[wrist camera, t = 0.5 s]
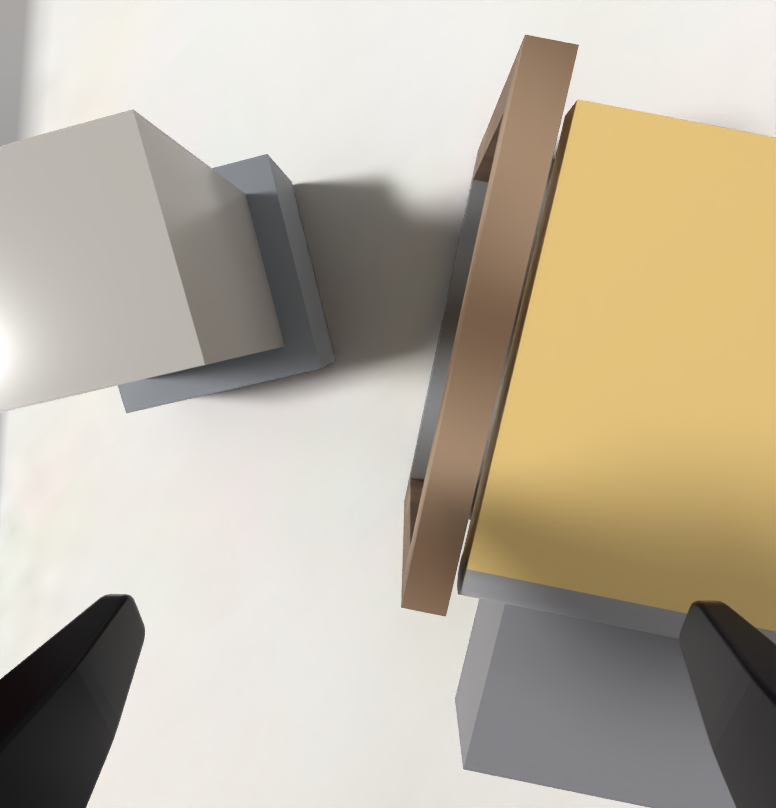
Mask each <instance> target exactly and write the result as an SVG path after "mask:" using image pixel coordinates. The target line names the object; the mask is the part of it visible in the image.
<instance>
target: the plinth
mask: <svg viewBox="0 0 776 808" xmlns="http://www.w3.org/2000/svg"><path fill="white" fill-rule="evenodd" d="M212 169H213V170H214V171H216V172H217V173H218V174H220V175H221V176H222V177H224V178H225V179H226V180H228V181H229V182H230V183H232V184H233V185H234V186H236V187H237V188H238V189H240V190H241V191H242V192H244V193H245V194H246V198H247V201H248V205H249V209H250V213H251V217H252V221H253V225H254V228H255V232H256V236H257V240H258V244H259V248H260V252H261V256H262V259H263V263H264V267H265V271H266V275H267V279H268V283H269V287H270V290H271V294H272V298H273V302H274V306H275V310H276V314H277V318H278V321H279V325H280V329H281V333H282V337H283V341H284V345H285V346H284V347H280V348H276V349H272V350H267V351H263V352H259V353H254V354H250V355H246V356H241V357H237V358H233V359H229V360H224V361H220V362H216V363H211V364H207V365H203V366H198V367H194V368H190V369H186V370H181V371H177V372H173V373H168V374H164V375H160V376H156V377H151V378H147V379H143V380H138V381H134V382H130V383H125V384H121V385H118V388H119V391H120V394H121V398H122V401H123V404H124V407H125V410H126V413H130V412H134V411H138V410H143V409H147V408H151V407H156V406H160V405H165V404H169V403H173V402H178V401H182V400H187V399H191V398H195V397H200V396H204V395H208V394H213V393H217V392H222V391H226V390H230V389H235V388H239V387H243V386H248V385H252V384H257V383H261V382H265V381H270V380H274V379H279V378H283V377H287V376H292V375H296V374H300V373H305V372H309V371H314V370H318V369H322V368H323V367H325V366H327V365H328V364H330V363H332V362H334V361H335V357H334V353H333V349H332V344H331V340H330V336H329V332H328V328H327V324H326V320H325V316H324V312H323V308H322V304H321V300H320V295H319V291H318V287H317V283H316V279H315V275H314V271H313V267H312V263H311V259H310V255H309V251H308V246H307V242H306V238H305V234H304V230H303V226H302V222H301V218H300V214H299V210H298V206H297V202H296V197H295V193H294V189H293V185H292V182H291V181H290V179H289V178H288V177H287V176H286V175H285V174H284V173H283V171H282V170H281V169H280V168H279V167H278V166H277V165H276V163H275V162H274V161H273V160H272V159H271V158H270V157H269V155H268V154H266V155H262V156H258V157H254V158H250V159H246V160H243V161H239V162H235V163H231V164H227V165H224V166H220V167H216V168H212Z"/></svg>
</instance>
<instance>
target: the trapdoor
mask: <svg viewBox="0 0 776 808" xmlns="http://www.w3.org/2000/svg"><path fill="white" fill-rule="evenodd" d="M457 589H458V594H460V595H465V596H470V597H475V598H479V603H478V607H477V611H476V615H475V619H474V623H473V627H472V631H471V636H470V640H469V644H468V648H467V652H466V656H465V660H464V664H463V668H462V673H461V677H460V681H459V685H458V689H457V693H456V697H455V702H456V711H457V719H458V728H459V736H460V745H461V753H462V762H463V769H465V770H470V771H475V772H480V773H485V774H489V775H494V776H499V777H504V778H509V779H514V780H519V781H523V782H528V783H533V784H538V785H543V786H548V787H553V788H558V789H562V790H567V791H572V792H577V793H582V794H587V795H592V796H596V797H601V798H606V799H611V800H616V801H621V802H626V803H630V804H635V805H640V806H645V807H650V808H736V806H735V804H734V802H733V799H732V797H731V795H730V792H729V790H728V787H727V785H726V783H725V780H724V778H723V775H722V773H721V771H720V768H719V766H718V763H717V761H716V758H715V756H714V753H713V750H712V747H711V744H710V742H709V739H708V736H707V733H706V729H705V726H704V723H703V720H702V716H701V713H700V710H699V707H698V703H697V700H696V697H695V694H694V691H693V687H692V684H691V681H690V678H689V674H688V671H687V668H686V665H685V661H684V658H683V655H682V652H681V648H680V643H679V636H680V631H681V629H682V626H683V623H684V621H685V618H686V616H687V613H688V611H689V608H690V606H691V604H692V603H693V602H694V601H698V600H712V601H721V602H723V603H725V604H727V605H728V606H729V607H731V608H732V609H733V610H734V611H736V612H737V613H738V614H739V615H741V616H742V617H743V618H744V619H746V620H747V621H748V622H749V623H750V624H752V625H753V626H754V627H755V628H757V629H758V630H759V631H760V632H762V633H763V634H764V635H765V636H767V637H768V638H769V639H770V640H771V641H773V642H774V643H775V644H776V138H775V137H770V136H764V135H759V134H754V133H749V132H744V131H739V130H733V129H728V128H723V127H718V126H713V125H708V124H702V123H697V122H692V121H687V120H682V119H677V118H671V117H666V116H661V115H656V114H651V113H645V112H640V111H635V110H630V109H625V108H620V107H614V106H609V105H604V104H599V103H594V102H589V101H583V100H577V101H576V102H575V104H574V105H573V106H572V108H571V109H570V110H569V112H568V113H567V114H566V115H565V119H564V123H563V127H562V132H561V136H560V140H559V144H558V149H557V153H556V157H555V162H554V166H553V170H552V174H551V179H550V183H549V187H548V192H547V196H546V200H545V204H544V209H543V213H542V217H541V222H540V226H539V230H538V234H537V239H536V243H535V247H534V251H533V256H532V260H531V264H530V269H529V273H528V277H527V281H526V286H525V290H524V294H523V299H522V303H521V307H520V311H519V316H518V320H517V324H516V329H515V333H514V337H513V341H512V346H511V350H510V354H509V359H508V363H507V367H506V371H505V376H504V380H503V384H502V389H501V393H500V397H499V401H498V406H497V410H496V414H495V419H494V423H493V427H492V431H491V436H490V440H489V444H488V449H487V453H486V457H485V461H484V466H483V470H482V474H481V479H480V483H479V487H478V491H477V496H476V500H475V504H474V508H473V513H472V517H471V521H470V526H469V530H468V534H467V538H466V543H465V547H464V551H463V554H462V557H461V561H460V566H459V572H458V582H457Z"/></svg>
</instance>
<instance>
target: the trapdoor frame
mask: <svg viewBox="0 0 776 808" xmlns="http://www.w3.org/2000/svg"><path fill="white" fill-rule="evenodd" d="M578 46H579V45H576V44H571V43H566V42H561V41H555V40H550V39H545V38H540V37H535V36H530V35H525V36H524V39H523V41H522V44H521V46H520V49H519V51H518V54H517V56H516V59H515V61H514V63H513V66H512V68H511V71H510V73H509V76H508V78H507V81H506V83H505V86H504V88H503V91H502V93H501V95H500V98H499V100H498V103H497V105H496V108H495V110H494V113H493V115H492V118H491V120H490V122H489V125H488V127H487V130H486V132H485V135H484V137H483V140H482V142H481V145H480V147H479V150H478V153H477V158H476V163H475V168H474V173H473V177H472V182H471V187H470V192H469V196H468V201H467V206H466V211H465V215H464V220H463V225H462V230H461V235H460V239H459V244H458V249H457V254H456V258H455V263H454V268H453V273H452V277H451V282H450V287H449V292H448V296H447V301H446V306H445V311H444V316H443V320H442V325H441V330H440V335H439V339H438V344H437V349H436V354H435V358H434V363H433V368H432V373H431V378H430V382H429V387H428V392H427V397H426V401H425V406H424V411H423V416H422V420H421V425H420V430H419V435H418V440H417V444H416V449H415V454H414V459H413V463H412V468H411V473H410V478H409V482H408V487H407V492H406V497H405V503H404V535H403V568H402V600H401V607H402V608H407V609H411V610H416V611H421V612H426V613H431V614H436V615H441V616H446V613H447V609H448V605H449V600H450V596H451V592H452V587H453V583H454V579H455V575H456V570H457V566H458V562H459V557H460V553H461V549H462V544H463V540H464V536H465V532H466V527H467V523H468V519H470V520H471V517H472V513H473V508H474V504H475V500H476V496H477V491H478V487H479V483H480V479H481V474H482V470H483V466H484V461H485V457H486V453H487V449H488V444H489V440H490V436H491V431H492V427H493V423H494V419H495V414H496V410H497V406H498V401H499V397H500V393H501V389H502V384H503V380H504V376H505V371H506V367H507V363H508V359H509V354H510V350H511V346H512V341H513V337H514V333H515V329H516V324H517V320H518V316H519V311H520V307H521V303H522V299H523V294H524V290H525V286H526V281H527V277H528V273H529V269H530V264H531V260H532V256H533V251H534V247H535V243H536V239H537V234H538V230H539V226H540V222H541V217H542V213H543V209H544V204H545V200H546V196H547V192H548V187H549V183H550V179H551V174H552V170H553V166H554V162H555V160H554V159H552V158H553V153H554V149H555V145H556V140H557V136H558V132H559V127H560V123H561V119H562V115H563V110H564V106H565V102H566V97H567V93H568V89H569V84H570V80H571V76H572V72H573V67H574V63H575V59H576V54H577V50H578Z"/></svg>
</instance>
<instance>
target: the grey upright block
mask: <svg viewBox="0 0 776 808" xmlns="http://www.w3.org/2000/svg"><path fill="white" fill-rule="evenodd" d="M284 346H285V345H284V341H283V337H282V333H281V329H280V325H279V321H278V318H277V314H276V310H275V306H274V302H273V298H272V294H271V290H270V287H269V283H268V279H267V275H266V271H265V267H264V263H263V259H262V256H261V252H260V248H259V244H258V240H257V236H256V232H255V228H254V225H253V221H252V217H251V213H250V209H249V205H248V201H247V198H246V194H245V193H244V192H242V191H241V190H240V189H238V188H237V187H236V186H234V185H233V184H232V183H230V182H229V181H228V180H226V179H225V178H224V177H222V176H221V175H220V174H218V173H217V172H216V171H214V170H213V169H212V168H210V167H209V166H208V165H206V164H205V163H204V162H202V161H201V160H200V159H198V158H197V157H196V156H194V155H193V154H192V153H190V152H189V151H188V150H186V149H185V148H184V147H182V146H181V145H180V144H178V143H177V142H176V141H174V140H173V139H172V138H170V137H169V136H168V135H166V134H165V133H164V132H162V131H161V130H160V129H158V128H157V127H156V126H154V125H153V124H152V123H150V122H149V121H148V120H146V119H145V118H144V117H142V116H141V115H140V114H138V113H137V112H136V111H134V110H129V111H126V112H122V113H118V114H115V115H111V116H107V117H104V118H100V119H97V120H93V121H89V122H86V123H82V124H78V125H75V126H71V127H67V128H64V129H60V130H56V131H53V132H49V133H46V134H42V135H38V136H35V137H31V138H27V139H24V140H20V141H16V142H13V143H9V144H6V145H2V146H0V412H5V411H9V410H13V409H17V408H22V407H26V406H30V405H35V404H39V403H43V402H48V401H52V400H56V399H61V398H65V397H69V396H74V395H78V394H82V393H87V392H91V391H95V390H99V389H104V388H108V387H112V386H117V385H121V384H125V383H130V382H134V381H138V380H143V379H147V378H151V377H156V376H160V375H164V374H168V373H173V372H177V371H181V370H186V369H190V368H194V367H198V366H203V365H207V364H211V363H216V362H220V361H224V360H229V359H233V358H237V357H241V356H246V355H250V354H254V353H259V352H263V351H267V350H272V349H276V348H280V347H284Z"/></svg>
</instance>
